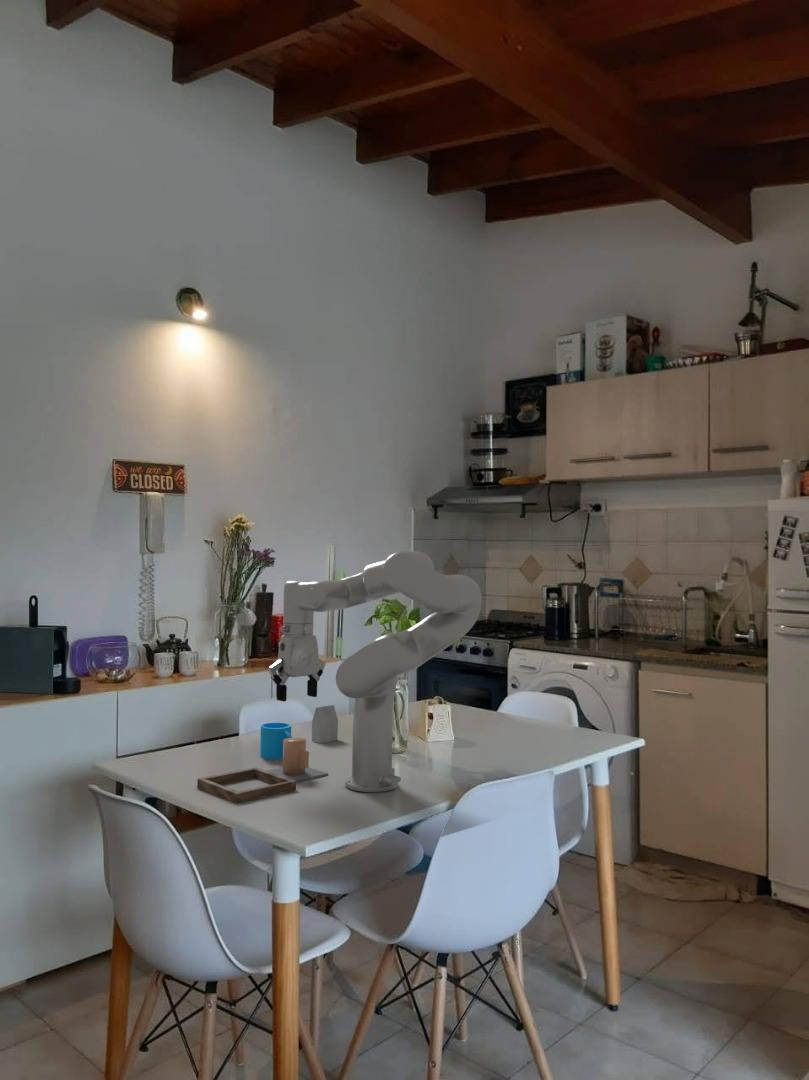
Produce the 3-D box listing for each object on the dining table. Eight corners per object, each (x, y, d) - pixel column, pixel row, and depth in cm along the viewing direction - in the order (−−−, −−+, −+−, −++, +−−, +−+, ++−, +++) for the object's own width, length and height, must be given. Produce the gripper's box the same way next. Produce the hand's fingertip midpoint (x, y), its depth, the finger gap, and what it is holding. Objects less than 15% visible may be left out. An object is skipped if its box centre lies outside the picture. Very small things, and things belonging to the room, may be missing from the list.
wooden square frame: (296, 789, 208) (296, 781, 208) (236, 802, 197) (236, 793, 197) (255, 775, 220) (255, 767, 220) (197, 787, 209) (197, 778, 209)
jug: (278, 772, 222) (278, 739, 222) (296, 768, 226) (296, 736, 226) (297, 778, 216) (298, 745, 216) (315, 774, 220) (316, 742, 220)
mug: (254, 755, 241) (254, 725, 241) (279, 750, 247) (279, 721, 247) (279, 763, 232) (280, 732, 232) (305, 759, 238) (305, 728, 238)
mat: (327, 775, 222) (328, 773, 222) (288, 783, 213) (288, 781, 213) (298, 766, 230) (298, 764, 230) (259, 773, 222) (259, 771, 222)
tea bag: (337, 739, 262) (338, 705, 262) (320, 743, 257) (320, 708, 257) (329, 737, 264) (329, 704, 264) (311, 741, 260) (312, 706, 260)
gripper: (279, 633, 214) (278, 704, 214) (334, 629, 226) (333, 696, 226) (260, 630, 219) (259, 700, 219) (315, 626, 232) (314, 692, 232)
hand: (296, 698), depth 223 cm, fingers open, 9 cm apart
